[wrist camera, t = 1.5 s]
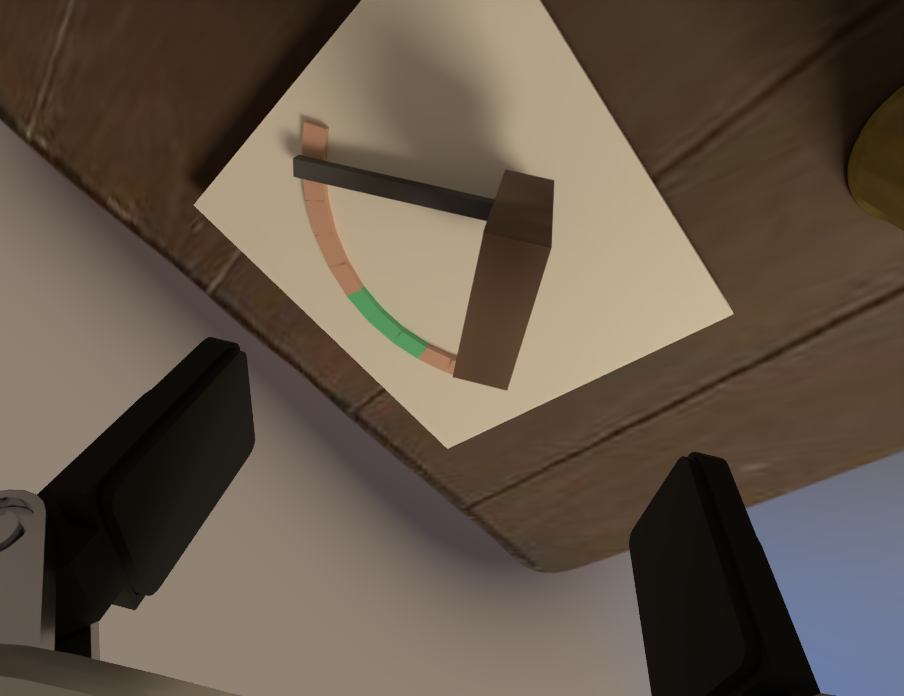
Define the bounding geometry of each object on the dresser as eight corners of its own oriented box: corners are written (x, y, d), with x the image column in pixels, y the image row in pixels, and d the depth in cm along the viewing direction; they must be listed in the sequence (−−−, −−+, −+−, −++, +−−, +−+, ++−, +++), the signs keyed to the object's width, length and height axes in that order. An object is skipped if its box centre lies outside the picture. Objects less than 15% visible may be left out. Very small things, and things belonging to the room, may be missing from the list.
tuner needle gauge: (562, 158, 20) (563, 250, 13) (531, 267, 23) (516, 392, 15) (301, 101, 20) (154, 156, 13) (304, 214, 23) (185, 310, 16)
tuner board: (469, -115, 17) (460, -127, 15) (725, 298, 24) (736, 318, 22) (210, 195, 26) (188, 207, 24) (451, 432, 33) (446, 453, 31)
